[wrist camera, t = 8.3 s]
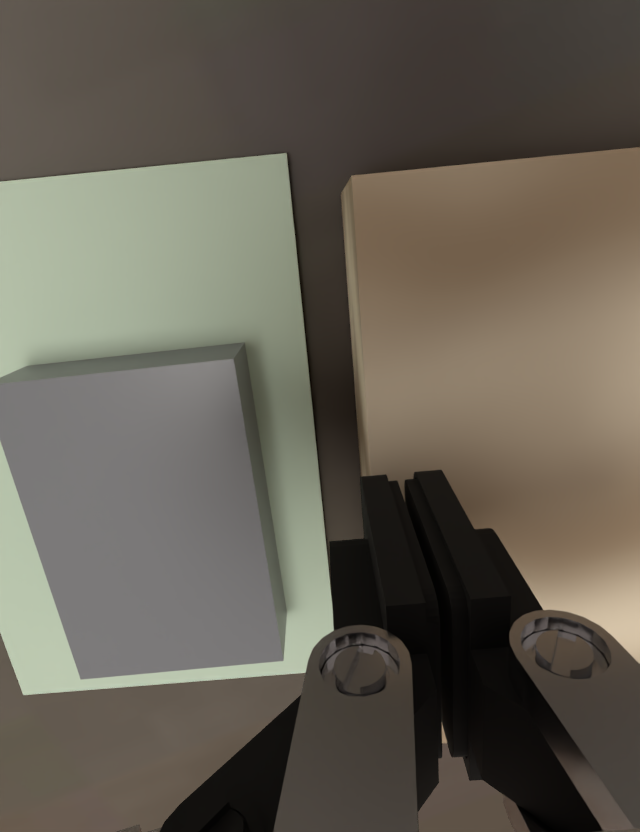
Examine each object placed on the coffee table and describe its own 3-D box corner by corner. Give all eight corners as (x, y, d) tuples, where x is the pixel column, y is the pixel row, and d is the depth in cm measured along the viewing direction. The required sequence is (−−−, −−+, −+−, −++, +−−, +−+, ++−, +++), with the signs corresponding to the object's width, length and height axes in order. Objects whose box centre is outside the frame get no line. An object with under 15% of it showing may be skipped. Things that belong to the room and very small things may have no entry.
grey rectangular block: (233, 358, 12) (244, 342, 14) (-19, 385, 12) (26, 365, 14) (283, 661, 15) (287, 613, 17) (80, 679, 15) (106, 630, 17)
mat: (-150, 198, 13) (-161, 198, 13) (287, 155, 13) (286, 152, 12) (27, 687, 18) (23, 694, 18) (338, 663, 18) (338, 670, 18)
